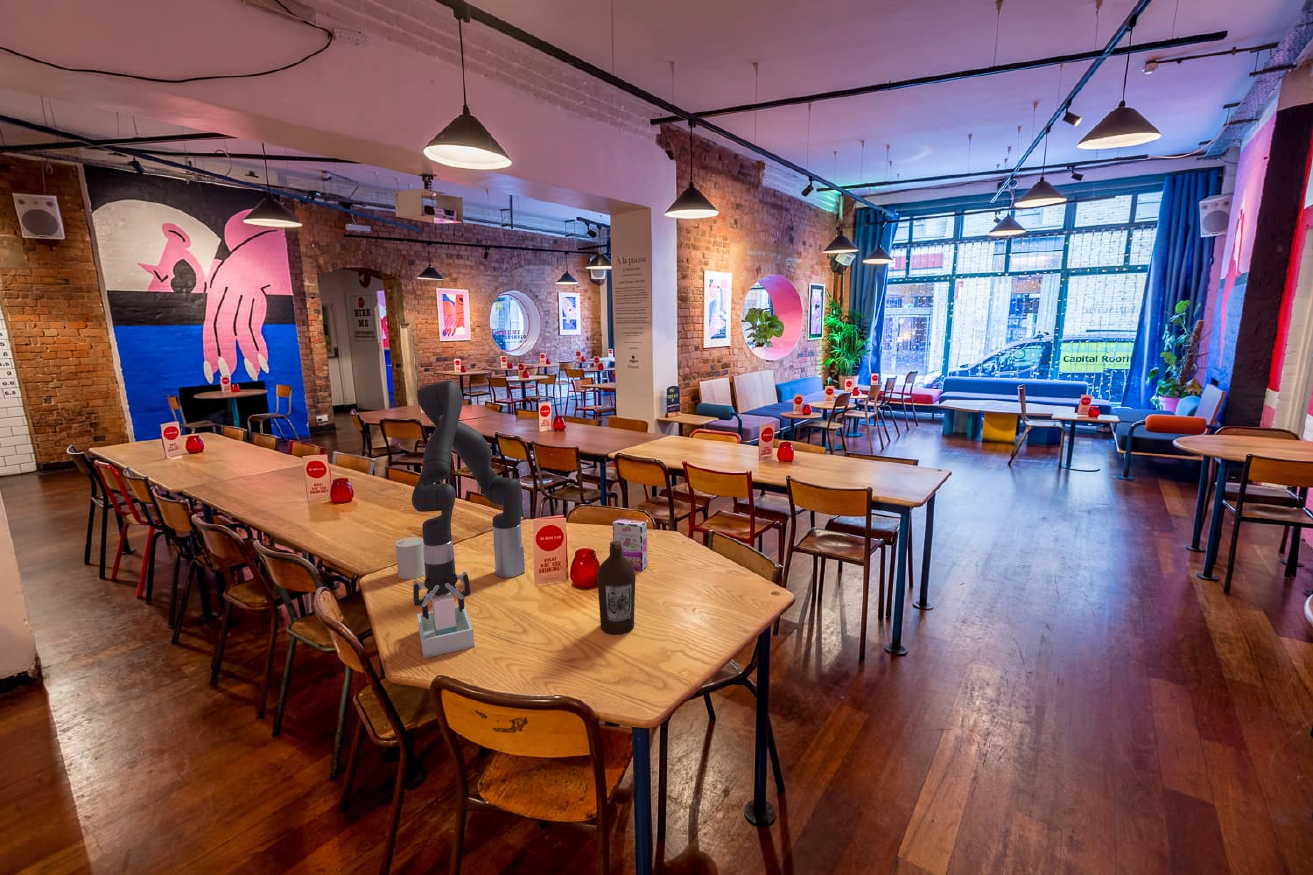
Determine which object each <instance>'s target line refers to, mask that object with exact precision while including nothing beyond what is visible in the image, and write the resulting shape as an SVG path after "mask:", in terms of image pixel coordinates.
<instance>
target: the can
mask: <svg viewBox="0 0 1313 875" xmlns="http://www.w3.org/2000/svg"><path fill="white" fill-rule="evenodd" d="M394 543H395V544H394V545H395V554H396V555H395V556H396V565H397V577H398V578H399V579H401V580H414V579H418V578H421V577H423V576H425V566H424V555H423V547H424V543H423V537H420V536H412V537H411V536H409V537H405V538H401V539H399V540H397V541H396V542H394Z"/></svg>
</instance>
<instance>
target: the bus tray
mask: <svg viewBox="0 0 1313 875" xmlns="http://www.w3.org/2000/svg"><path fill="white" fill-rule="evenodd" d="M428 615H429V619H426V617H423V615H422V612H420V613H417V614H416V617H417V628H418V634H419V641H420V646H421V651H422V657H423V660H424V659H429V658H432V657H436V656H441V655H445V654H450V653H454V652H458V651H463V650H467V649H473V648H475V638H474V637H475V636H474V635H475V634H474V628H473V625H472V622H471V620H470V616H469V613H468V610H467V608H466V606H465V604H464V609H463V610H462V612H459V608H458V605H457V606H456V605H455V617H456V627H457V632H453V633H448V634H444V635H439V636H435V631H434V623H433V610H431V611H428Z"/></svg>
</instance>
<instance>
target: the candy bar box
mask: <svg viewBox="0 0 1313 875" xmlns="http://www.w3.org/2000/svg"><path fill="white" fill-rule="evenodd" d="M647 524H648V523H647V521H643V520H634V519H626V518H617V519H616V520H615V521H612V541H620V542H621V546H622V555H623V557H625V558H626V559H627V560H628V561H629V562H630V563H631V564H632V566H633V567H634V570H635V571H641V572H643V571H644V570H645V569H646V568H647V567H648V565H649V564H648V525H647Z"/></svg>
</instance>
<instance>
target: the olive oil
mask: <svg viewBox="0 0 1313 875" xmlns="http://www.w3.org/2000/svg"><path fill="white" fill-rule="evenodd" d="M596 574H597V575H596V583H597V591H598V592H597V593H598V607H599V619H600V620H599V621H600V622H599V623H600V624H599V625H600V630H601V631H602V632H603V633H605V634H607V635H611V636H622V635H626V634H629V633H630V632H632V631H633V630H634V628H635V600H636V580H637V579H636V578H637V576H636V570H634V567H633V566H632V564H631V563H630V562H629V561H628V560H627V559H626V558H625V557H623V555H622V546H621V542H620V541H613V540H612V541H610V542H609V555H608V557H606V558H605V560H604V561H603V562H602V563H601V564H600V566H599V567H598V569H597V573H596Z"/></svg>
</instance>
